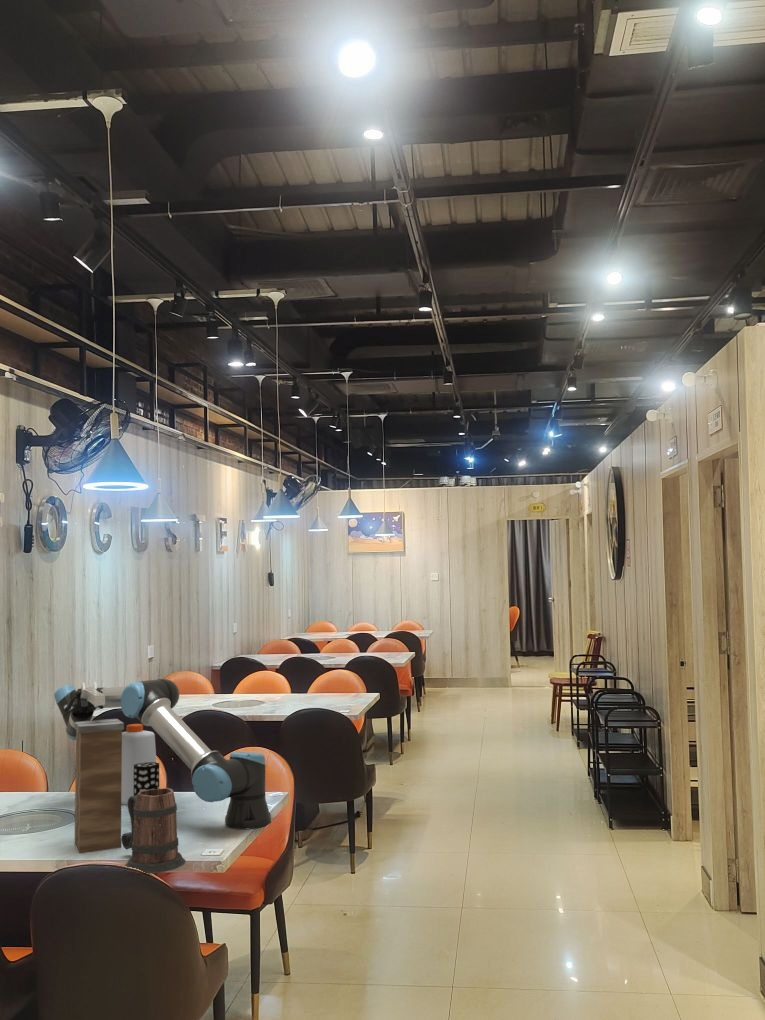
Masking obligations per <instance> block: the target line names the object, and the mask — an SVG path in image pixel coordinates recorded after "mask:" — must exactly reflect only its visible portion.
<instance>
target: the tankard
mask: <svg viewBox="0 0 765 1020" xmlns="http://www.w3.org/2000/svg"><path fill="white" fill-rule="evenodd" d="M127 811H128V814H129V817H130V825H131V832H125V833H122V834H121V846H123V849H124V850H129V849H131V856H130V857H129V859H128V860H127V863H125V865H124V866H127V867H132V868H136V869H139V870H141V871H143V872H145V873H148V875H150V874H160V873H165V872H169V871H174V870H177V869H178V868H180V867H181V868H182V866H184V865H185V864H186V859H185V858H184V857H183V856H182V854H181V853H180V852H179V848H178V847H179V837H178V828H177V827H178V826H177V825H178V823H177V821H178V820H177V811H178V805H177V803H176V798H175V793H174V789H172V788H168V787H167V788H159V789H150V790H145V791H141V792H139V793H138V794H137V795H135V796H131V797H130V798H129V799H128V805H127Z"/></svg>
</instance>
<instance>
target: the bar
mask: <svg viewBox="0 0 765 1020" xmlns="http://www.w3.org/2000/svg"><path fill="white" fill-rule="evenodd" d="M92 687H93V686H92ZM92 687H91V686H89V687H86V686H85V692H84V696H83V698H84V699H86V700H87V701H89V702H90V703H92V704H93V705H94V706H99V705H105V695H104V694H102V693H100V692H98V691H97V690H95V689H93V688H92Z"/></svg>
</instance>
